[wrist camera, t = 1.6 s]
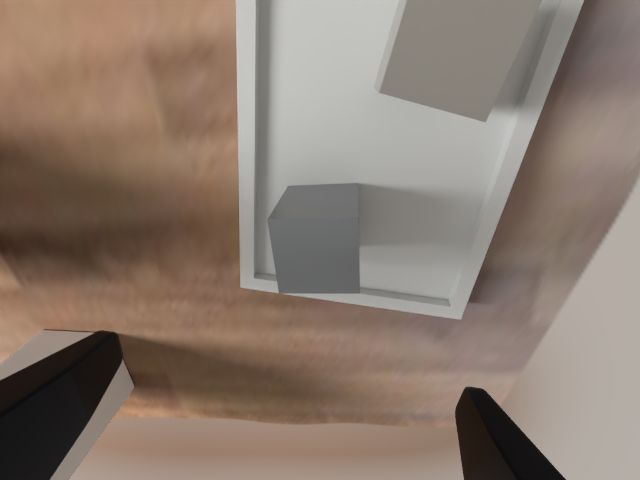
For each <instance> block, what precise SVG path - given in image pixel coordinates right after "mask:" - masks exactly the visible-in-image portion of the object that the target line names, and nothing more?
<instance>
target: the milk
mask: <svg viewBox="0 0 640 480" xmlns="http://www.w3.org/2000/svg"><path fill="white" fill-rule="evenodd" d="M91 334H93V333H92V332H72V331H52V330H41V331H40V332H39V333H37V334H36V335H35V336H34V337H32V338H31V339H30V340H29V341H28V342H26V343H25V344H24V345H23V346H21V347H20V348H19V349H18V350H16V351H15V352H14V353H13V354H12V355H10V356H9V357H8V358H7V359H5V360H4V361H3V362H2V363H0V380H2V379H4V378H6V377H8V376H10V375H12V374H14V373H16V372H17V371H19V370H21V369H23V368H25V367H27V366H29V365H31V364H33V363H35V362H37V361H39V360H41V359H43V358H45V357H47V356H49V355H51V354H53V353H55V352H57V351H59V350H61V349H63V348H65V347H67V346H69V345H71V344H73V343H75V342H77V341H79V340H81V339H83V338H85V337H87V336H89V335H91ZM133 389H134V384H133V382H132V380H131V377H130V375H129V372H128V370H127V368H126V365H125V363H124V361H123V359H122V363H121V365H120V367H119V369H118V370H117V372H116V374H115V376H114V378H113V379H112V381H111V383H110V385H109V387H108V389H107V390H106V392H105V394H104V396H103V398H102V399H101V401H100V403H99V405H98V407H97V409H96V410H95V412H94V414H93V416H92V417H91V419H90V421H89V422H88V424H87V425H86V427H85V428H84V430H83V432H82V433H81V434H80V436H79V437H78V439H77V440H76V442H75V443H74V445H73V446H72V448H71V449H70V451H69V452H68V454H67V455H66V457H65V458H64V460H63V461H62V463H61V464H60V466H59V467H58V469H57V470H56V472H55V473H54V474H53V476H52V477H51V479H50V480H69V479H70V477H71V476H72V474H73V473H74V472H75V470H76V469H77V467H78V466H79V465H80V463H81V462H82V461H83V459H84V458H85V456H86V455H87V454H88V452H89V451H90V449H91V448H92V446H93V445H94V444H95V442H96V441H97V439H98V438H99V437H100V435H101V434H102V432H103V431H104V429H105V428H106V427H107V425H108V424H109V423H110V421H111V420H112V418H113V417H114V416H115V414H116V413H117V411H118V410H119V409H120V407H121V406H122V404H123V403H124V401H125V400H126V399H127V397H128V396H129V394H130V393H131V392H132V390H133Z"/></svg>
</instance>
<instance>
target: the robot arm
mask: <svg viewBox="0 0 640 480" xmlns="http://www.w3.org/2000/svg"><path fill="white" fill-rule="evenodd" d="M122 359H123V352H122V348H121V344H120V340H119V336H118V335H117V333H115V332H110V331H98V332H95V333H93V334H91V335H89V336H87V337H85V338H83V339H81V340H79V341H77V342H75V343H73V344H71V345H69V346H67V347H65V348H63V349H61V350H59V351H57V352H55V353H53V354H51V355H49V356H47V357H45V358H43V359H41V360H39V361H37V362H35V363H33V364H31V365H29V366H27V367H25V368H23V369H21V370H19V371H17V372H16V373H14V374H12V375H10V376H8V377H6V378H4V379H2V380H0V480H50V479H51V477H52V476H53V474H54V473H55V472H56V470H57V469H58V467H59V466H60V464H61V463H62V461H63V460H64V458H65V457H66V455H67V454H68V452H69V451H70V449H71V448H72V446H73V445H74V443H75V442H76V440H77V439H78V437H79V436H80V434H81V433H82V432H83V430H84V428H85V427H86V425H87V424H88V422H89V421H90V419H91V417H92V416H93V414H94V412H95V410H96V409H97V407H98V405H99V403H100V401H101V399H102V398H103V396H104V394H105V392H106V390H107V389H108V387H109V385H110V383H111V381H112V379H113V378H114V376H115V374H116V372H117V370H118V369H119V367H120V365H121V363H122ZM455 418H456V425H457V432H458V439H459V447H460V454H461V461H462V468H463V475H464V480H566V479H565V478H564V477H563V476H562V475H561V474H560V473H559V472H558V470H556V468H555V467H554V466H553V465H552V464H551V463H550V462H549V460H548V459H547V458H546V457H545V456H544V455H543V454H542V453H541V452H540V450H539V449H538V448H537V447H536V446H535V445H534V444H533V443H532V442H531V441H530V439H529V438H528V437H527V436H526V435H525V434H524V433H523V432H522V431H521V429H520V428H519V427H518V426H517V425H516V424H515V423H514V422H513V421H512V420H511V418H510V417H509V416H508V415H507V414H506V413H505V412H504V411H503V410H502V408H501V407H500V406H499V405H498V404H497V403H496V402H495V401H494V400H493V398H492V397H491V396H490V395H489V394H488V393H487V392H486V391H485V390H483V389H481V388H475V387H466V388H465V389H464V390H463V393H462V395H461V397H460V399H459V402H458V404H457V406H456V410H455Z"/></svg>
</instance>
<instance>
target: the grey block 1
mask: <svg viewBox="0 0 640 480" xmlns="http://www.w3.org/2000/svg"><path fill="white" fill-rule="evenodd" d="M267 221H268V228H269V234H270V240H271V247H272V253H273V259H274V265H275V272H276V278H277V284H278V291H279V293H300V294H360V242H359V198H358V183H344V184H320V185H295V186H288V187H287V188H286V190H285V192H284V193H283V195H282V196H281V198H280V200H279V201H278V203H277V205H276V206H275V208H274V209H273V211H272V213H271V214H270V216H269V217H268V219H267Z"/></svg>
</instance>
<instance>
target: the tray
mask: <svg viewBox="0 0 640 480" xmlns="http://www.w3.org/2000/svg"><path fill="white" fill-rule="evenodd" d="M398 2H399V0H236V36H237V102H238V167H239V232H240V288H247V289H253V290H260V291H267V292H274V293H279V291H278V284H277V278H276V272H275V265H274V259H273V253H272V247H271V240H270V234H269V228H268V221H267V219H268V217H269V216H270V214H271V213H272V211H273V209H274V208H275V206H276V205H277V203H278V201H279V200H280V198H281V196H282V195H283V193H284V192H285V190H286V188H287V187H288V186H295V185H320V184H344V183H358V198H359V242H360V294H300V293H281V294H288V295H295V296H302V297H308V298H315V299H322V300H329V301H336V302H343V303H350V304H356V305H363V306H370V307H377V308H384V309H391V310H398V311H404V312H411V313H418V314H425V315H432V316H439V317H446V318H452V319H459V320H461V318H462V315H463V313H464V310H465V307H466V305H467V302H468V300H469V297H470V294H471V292H472V289H473V287H474V284H475V281H476V279H477V276H478V274H479V271H480V269H481V266H482V263H483V261H484V258H485V256H486V253H487V250H488V248H489V245H490V243H491V240H492V237H493V235H494V232H495V230H496V227H497V225H498V222H499V219H500V217H501V214H502V212H503V209H504V206H505V204H506V201H507V199H508V196H509V193H510V191H511V188H512V186H513V183H514V181H515V178H516V175H517V173H518V170H519V168H520V165H521V162H522V160H523V157H524V155H525V152H526V150H527V147H528V144H529V142H530V139H531V137H532V134H533V131H534V129H535V126H536V124H537V121H538V118H539V116H540V113H541V111H542V108H543V106H544V103H545V100H546V98H547V95H548V93H549V90H550V87H551V85H552V82H553V80H554V77H555V74H556V72H557V69H558V67H559V64H560V62H561V59H562V56H563V54H564V51H565V49H566V46H567V43H568V41H569V38H570V36H571V33H572V30H573V28H574V25H575V23H576V20H577V18H578V15H579V12H580V10H581V7H582V5H583V2H584V0H542V1H541V4H540V6H539V8H538V10H537V12H536V14H535V17H534V19H533V21H532V23H531V25H530V27H529V30H528V32H527V34H526V36H525V38H524V40H523V43H522V45H521V47H520V49H519V51H518V53H517V56H516V58H515V60H514V62H513V64H512V66H511V69H510V71H509V73H508V75H507V77H506V80H505V82H504V84H503V86H502V88H501V90H500V93H499V95H498V97H497V99H496V101H495V103H494V106H493V108H492V110H491V112H490V114H489V116H488V119H487V121H486V122H483V121H479V120H475V119H472V118H468V117H465V116H461V115H457V114H454V113H450V112H446V111H443V110H439V109H436V108H432V107H428V106H425V105H421V104H417V103H414V102H410V101H407V100H403V99H399V98H396V97H392V96H388V95H385V94H381V93H379V92H378V91H377V90H376V89H375V88H374V84H375V81H376V77H377V74H378V70H379V67H380V64H381V60H382V57H383V53H384V50H385V46H386V43H387V40H388V36H389V33H390V29H391V26H392V22H393V19H394V16H395V12H396V9H397V5H398Z"/></svg>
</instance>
